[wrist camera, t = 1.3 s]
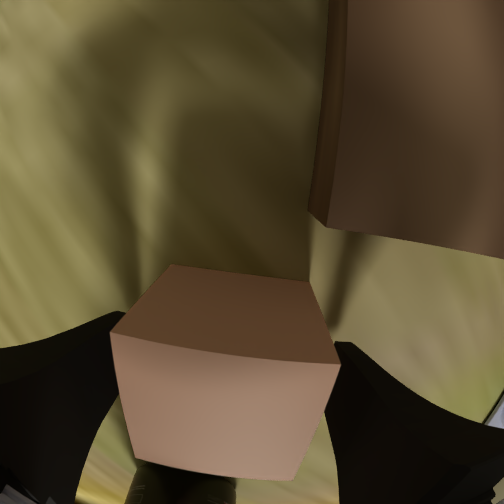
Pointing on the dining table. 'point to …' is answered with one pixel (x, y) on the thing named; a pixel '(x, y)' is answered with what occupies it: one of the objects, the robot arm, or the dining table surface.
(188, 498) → the supplement bottle
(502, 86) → the walnut base
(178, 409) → the terracotta cube
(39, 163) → the dining table surface
